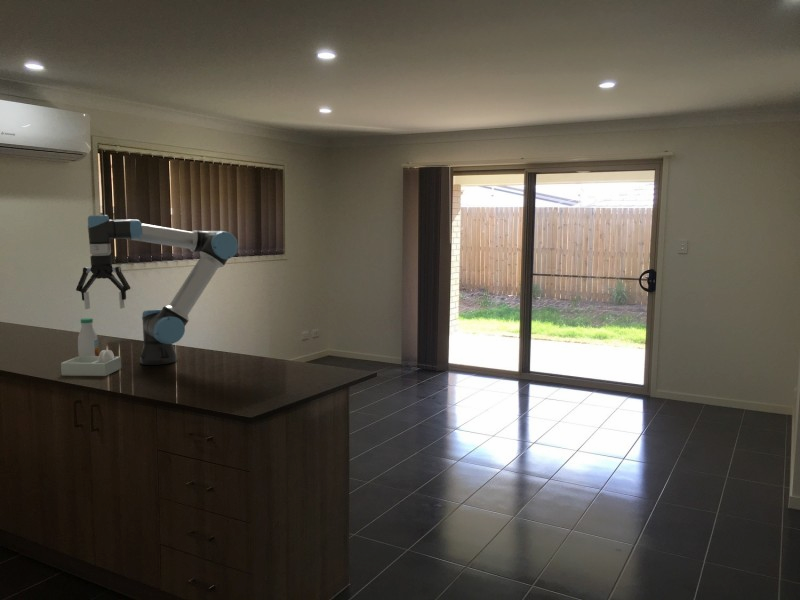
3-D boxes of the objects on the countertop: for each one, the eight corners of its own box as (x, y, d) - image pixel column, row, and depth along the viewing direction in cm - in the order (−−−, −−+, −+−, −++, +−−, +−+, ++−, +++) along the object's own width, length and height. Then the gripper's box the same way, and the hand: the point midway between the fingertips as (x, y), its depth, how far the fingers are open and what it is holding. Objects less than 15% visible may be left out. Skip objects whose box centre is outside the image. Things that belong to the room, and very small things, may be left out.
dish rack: (79, 367, 272) (78, 346, 271) (121, 368, 271) (120, 347, 270) (61, 375, 260) (60, 353, 258) (105, 375, 259) (104, 353, 257)
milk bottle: (91, 367, 274) (88, 320, 271) (75, 366, 275) (72, 319, 273) (103, 363, 281) (100, 317, 279) (87, 362, 283) (84, 316, 280)
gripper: (63, 255, 250) (68, 310, 253) (129, 254, 251) (133, 309, 254) (73, 254, 258) (77, 307, 261) (136, 253, 258) (140, 306, 261)
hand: (104, 308), depth 257 cm, fingers open, 13 cm apart
